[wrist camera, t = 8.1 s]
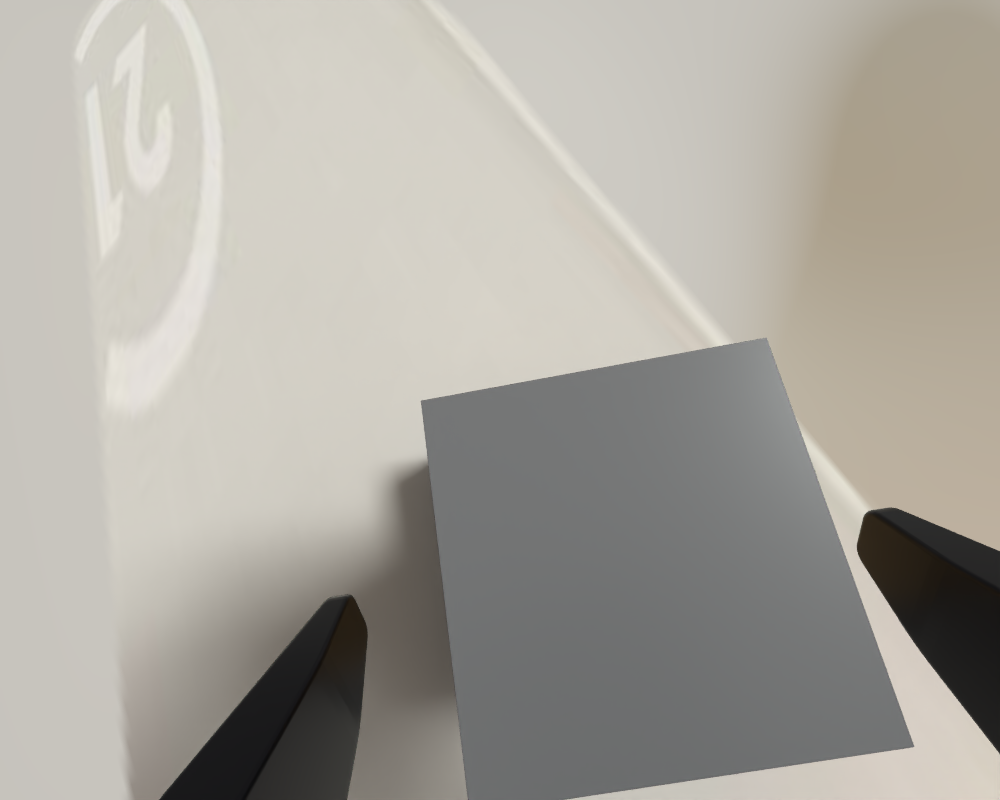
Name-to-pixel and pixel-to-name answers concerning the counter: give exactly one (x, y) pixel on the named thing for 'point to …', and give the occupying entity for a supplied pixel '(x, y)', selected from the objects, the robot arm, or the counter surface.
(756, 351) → the plug
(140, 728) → the counter surface
